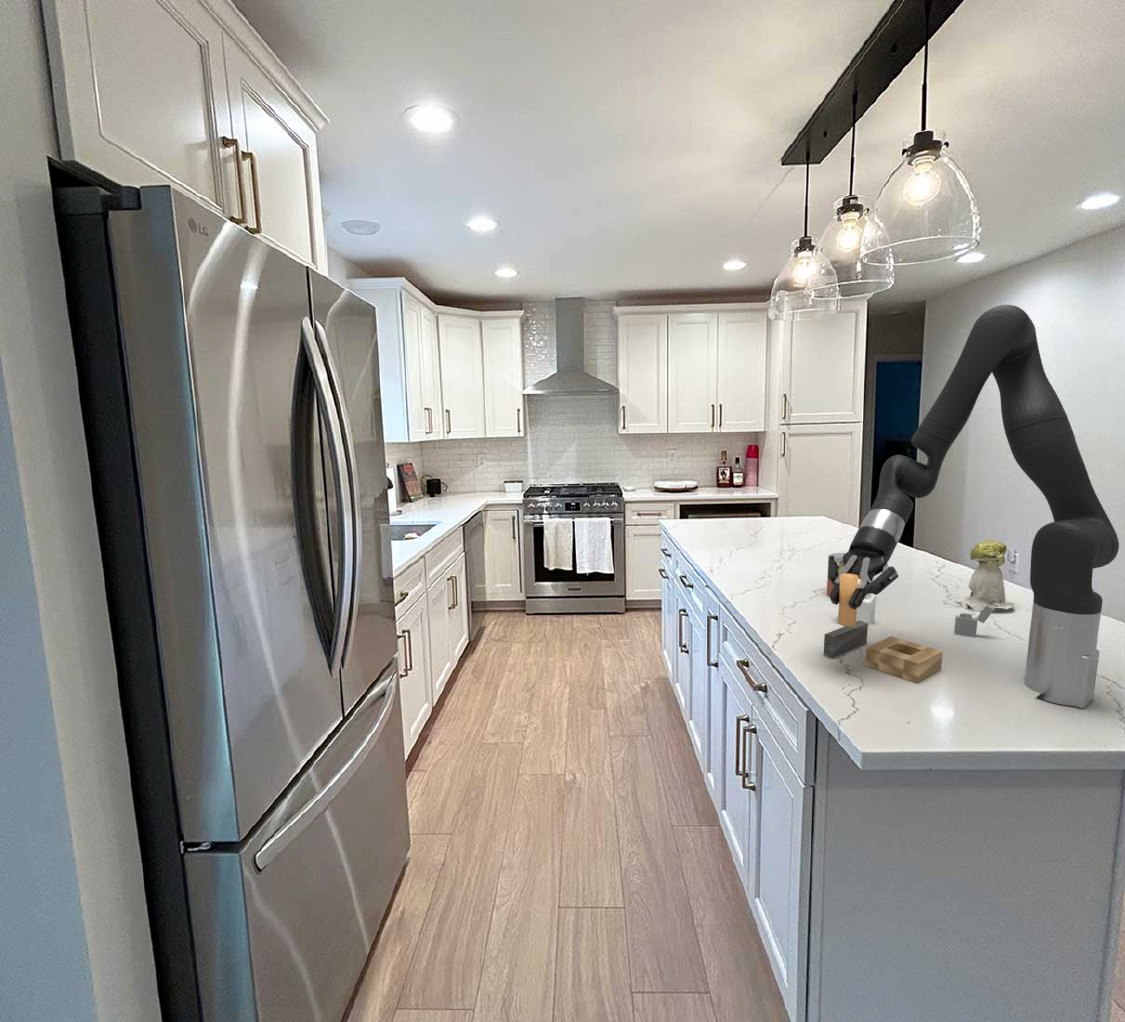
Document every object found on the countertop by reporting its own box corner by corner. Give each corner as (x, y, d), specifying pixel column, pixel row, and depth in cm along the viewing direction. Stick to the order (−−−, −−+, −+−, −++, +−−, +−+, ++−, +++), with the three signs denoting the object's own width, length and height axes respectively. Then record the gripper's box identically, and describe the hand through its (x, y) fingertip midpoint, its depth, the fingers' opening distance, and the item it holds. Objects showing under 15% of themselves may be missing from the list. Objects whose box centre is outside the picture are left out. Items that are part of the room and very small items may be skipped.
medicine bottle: (844, 616, 147) (846, 572, 146) (874, 621, 143) (877, 576, 141) (837, 623, 142) (840, 578, 140) (868, 629, 137) (871, 583, 136)
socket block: (941, 669, 112) (942, 651, 111) (917, 683, 107) (918, 663, 106) (889, 653, 120) (890, 636, 120) (865, 665, 115) (866, 647, 114)
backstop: (950, 674, 113) (952, 646, 112) (917, 694, 105) (919, 664, 104) (853, 643, 129) (855, 619, 128) (818, 658, 121) (820, 632, 120)
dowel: (858, 624, 110) (861, 575, 109) (850, 627, 109) (853, 578, 107) (843, 619, 113) (845, 572, 112) (834, 623, 111) (837, 575, 110)
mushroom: (1027, 613, 146) (1034, 545, 144) (979, 614, 146) (985, 546, 143) (991, 599, 158) (997, 536, 155) (947, 600, 158) (952, 537, 155)
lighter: (954, 634, 133) (957, 602, 132) (954, 632, 135) (956, 600, 134) (991, 639, 130) (994, 606, 128) (990, 637, 131) (993, 604, 130)
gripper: (838, 520, 118) (802, 586, 113) (909, 529, 106) (872, 603, 101) (850, 541, 122) (816, 606, 117) (920, 552, 110) (885, 624, 105)
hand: (842, 604), depth 109 cm, fingers closed on dowel, 3 cm apart
